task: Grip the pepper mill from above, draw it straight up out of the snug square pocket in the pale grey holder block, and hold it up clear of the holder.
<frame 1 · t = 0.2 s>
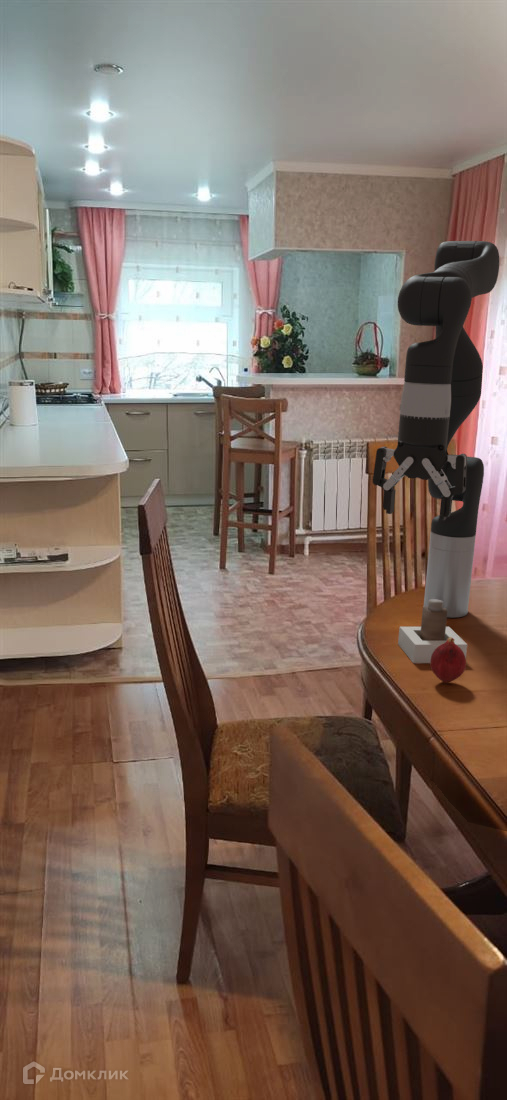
hand: (415, 516, 133), 28 cm above the table, tool pointing down, fingers open, 8 cm apart
onion: (445, 684, 141), on the table
pepper mill: (433, 627, 153), in the holder
holder: (430, 653, 154), on the table
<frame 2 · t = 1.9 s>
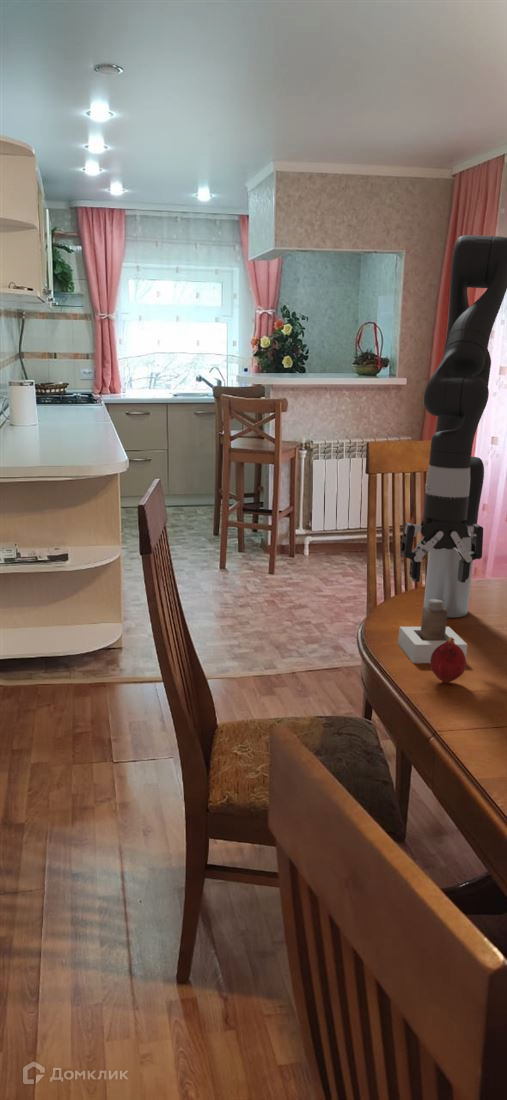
hand: (438, 581, 151), 14 cm above the table, tool pointing down, fingers open, 8 cm apart
nothing on the table moved.
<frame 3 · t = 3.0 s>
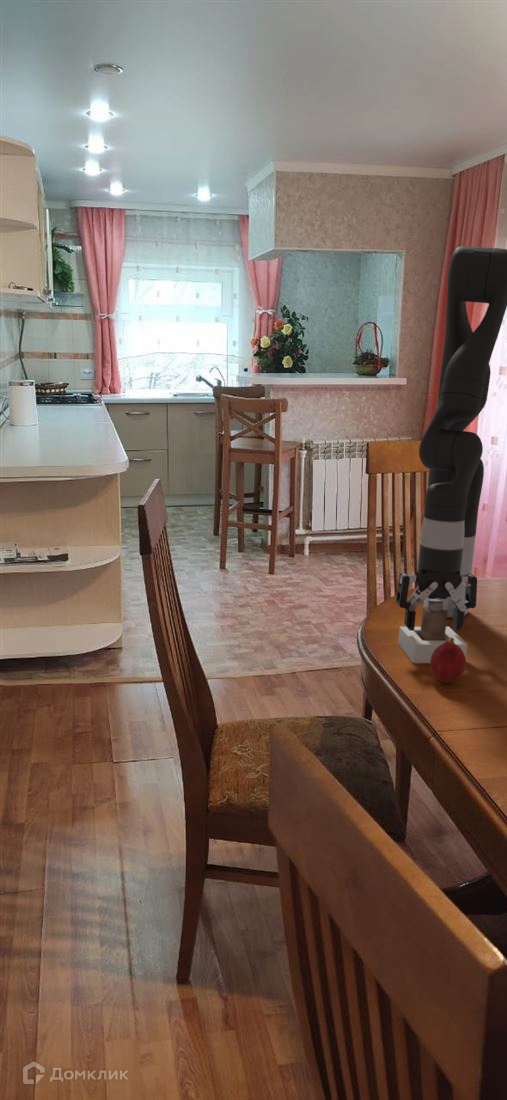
hand: (433, 629, 153), 5 cm above the table, tool pointing down, fingers open, 8 cm apart
nothing on the table moved.
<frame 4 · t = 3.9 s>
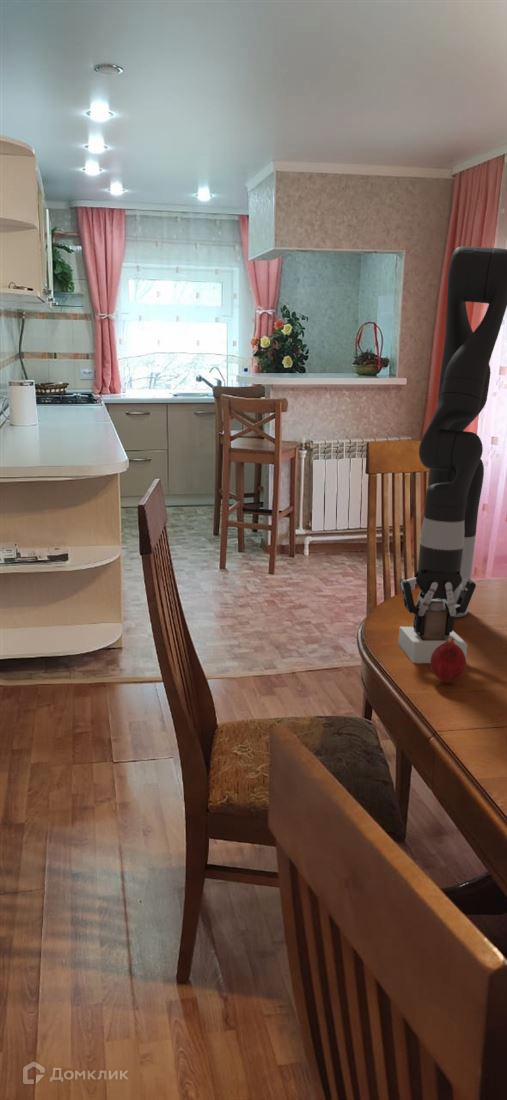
hand: (432, 633, 153), 4 cm above the table, tool pointing down, fingers closed on pepper mill, 4 cm apart
pepper mill: (433, 627, 153), in the holder, touching gripper
everything else where it was.
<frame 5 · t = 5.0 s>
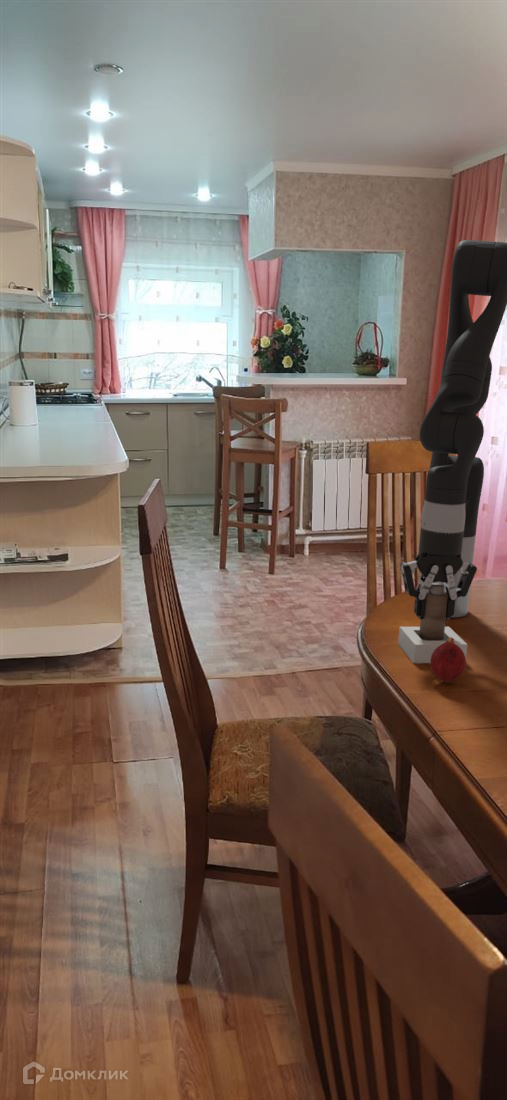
hand: (433, 617, 153), 7 cm above the table, tool pointing down, fingers closed on pepper mill, 4 cm apart
pepper mill: (433, 611, 153), point 8 cm above the table, touching gripper
everything else where it was.
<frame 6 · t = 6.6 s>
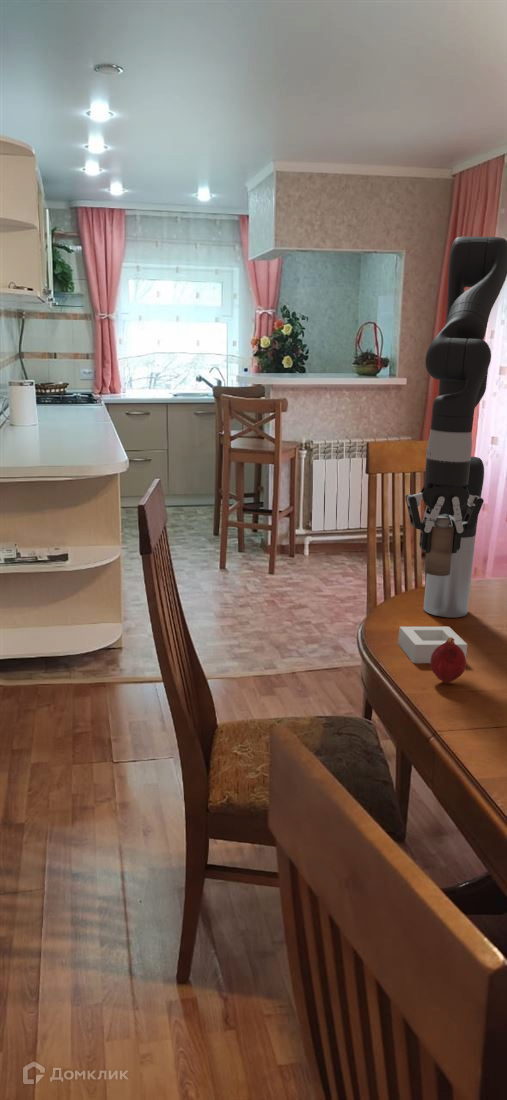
hand: (439, 551, 150), 19 cm above the table, tool pointing down, fingers closed on pepper mill, 4 cm apart
pepper mill: (439, 545, 150), point 20 cm above the table, touching gripper
everything else where it was.
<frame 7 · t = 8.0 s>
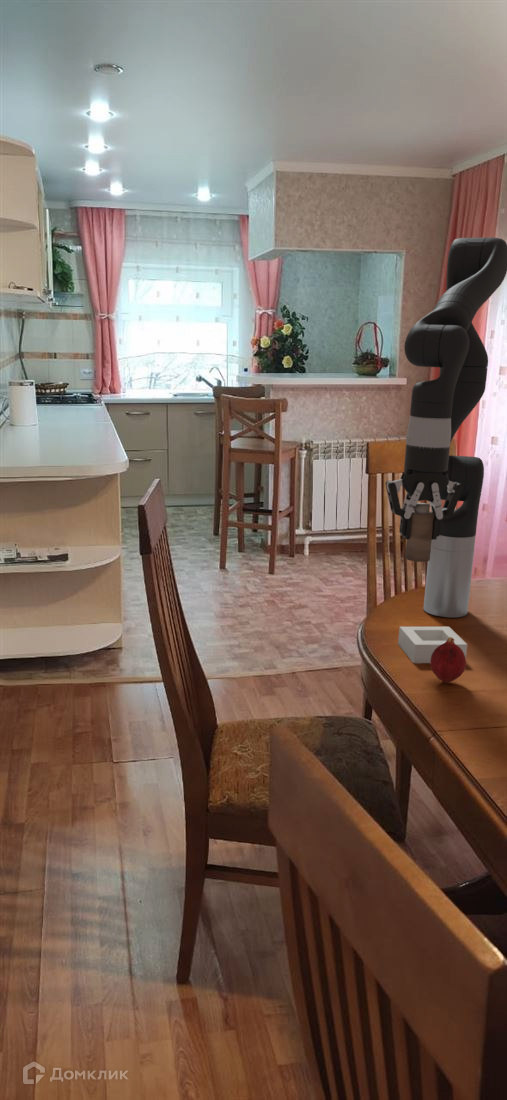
hand: (419, 537, 151), 21 cm above the table, tool pointing down, fingers closed on pepper mill, 4 cm apart
pepper mill: (419, 531, 150), point 22 cm above the table, touching gripper
everything else where it was.
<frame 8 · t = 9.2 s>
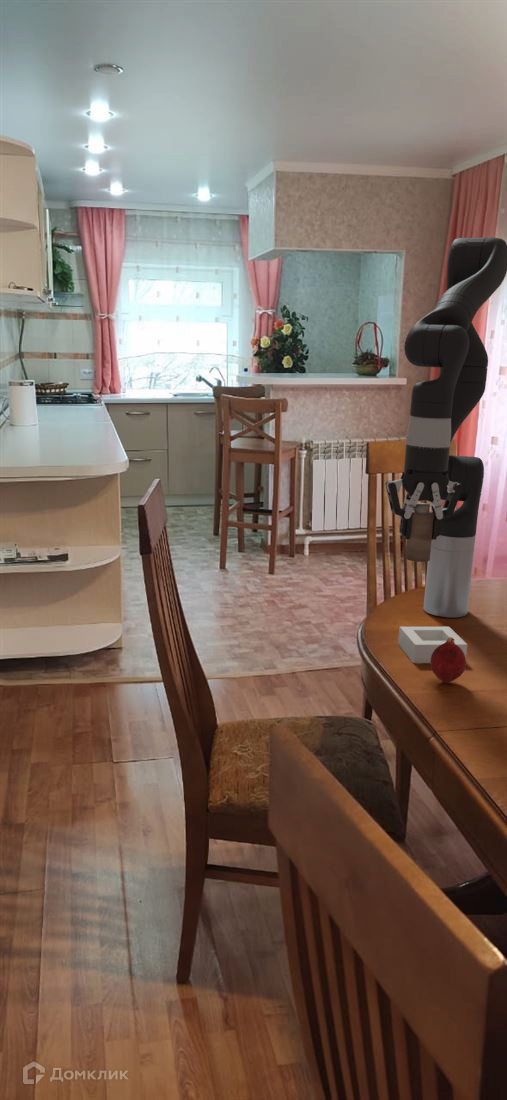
hand: (419, 537, 151), 21 cm above the table, tool pointing down, fingers closed on pepper mill, 4 cm apart
pepper mill: (419, 531, 150), point 22 cm above the table, touching gripper
everything else where it was.
at the end: the gripper is holding pepper mill; pepper mill point 22.4 cm above the table; pepper mill touching gripper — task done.
